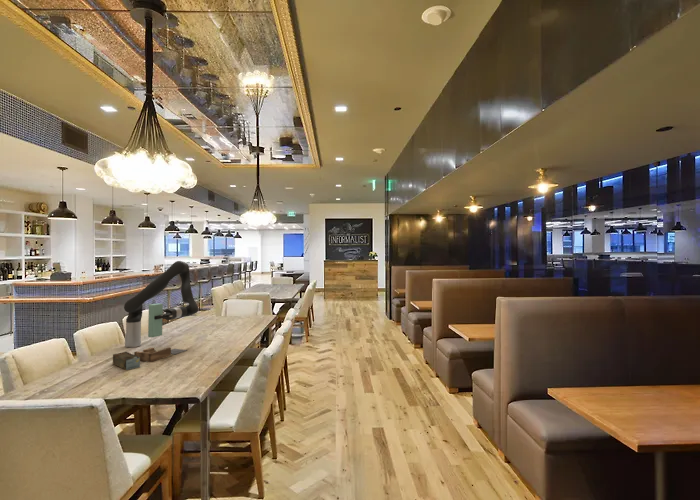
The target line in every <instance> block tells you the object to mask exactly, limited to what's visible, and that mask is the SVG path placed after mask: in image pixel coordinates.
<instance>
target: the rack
mask: <svg viewBox="0 0 700 500" xmlns="http://www.w3.org/2000/svg"><path fill="white" fill-rule="evenodd" d="M171 350H172V347H167V348H163V349H160V350H156V349H154V352H153V353H147V352H143V351H134V352H133V355H135V356H137V357H140V362H146V361H147V362H146V363H153V362H156V361H158V360H161V359H165V358H167V357H171V356H172V354H171Z"/></svg>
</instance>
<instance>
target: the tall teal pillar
mask: <svg viewBox="0 0 700 500" xmlns="http://www.w3.org/2000/svg"><path fill="white" fill-rule="evenodd" d="M163 309H164V305H163V303H152V304H148V320H147V321H148V322H147V323H148V325H147V327H148V328H147V330H148V331H147V337H148V338H157V337H160V336H161V337H162V336H163V319H157V320H155V319H154V317H155V316H158V315H162V313H163V312H164V311H163Z"/></svg>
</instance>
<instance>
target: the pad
mask: <svg viewBox="0 0 700 500" xmlns="http://www.w3.org/2000/svg"><path fill="white" fill-rule="evenodd" d="M187 351H188V349H182V348H181V349H180V348H171V355H176V356H177V355H179V354H181V353H185V352H187Z"/></svg>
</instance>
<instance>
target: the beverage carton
mask: <svg viewBox="0 0 700 500" xmlns="http://www.w3.org/2000/svg"><path fill="white" fill-rule="evenodd" d="M112 364H113V365H115V366H117V367H118V368H121V369H122V370H123V369H124V370H125V371H128V370H133V369H137V368H140V367H141V361H140V357H137V356H135V355H134V353H130V352H128V351H123V352H119V353H114V354H112Z"/></svg>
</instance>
